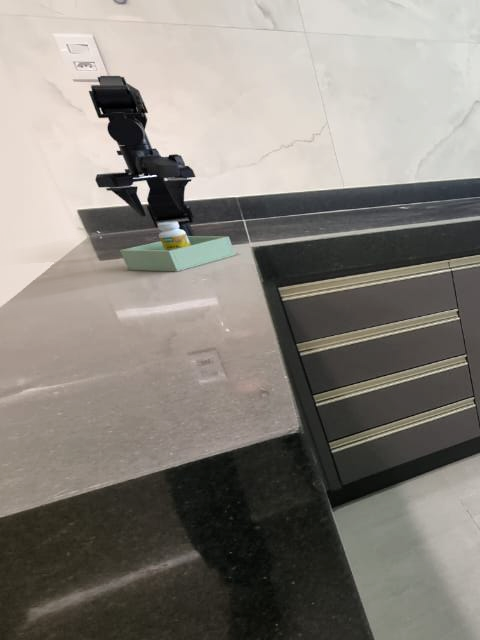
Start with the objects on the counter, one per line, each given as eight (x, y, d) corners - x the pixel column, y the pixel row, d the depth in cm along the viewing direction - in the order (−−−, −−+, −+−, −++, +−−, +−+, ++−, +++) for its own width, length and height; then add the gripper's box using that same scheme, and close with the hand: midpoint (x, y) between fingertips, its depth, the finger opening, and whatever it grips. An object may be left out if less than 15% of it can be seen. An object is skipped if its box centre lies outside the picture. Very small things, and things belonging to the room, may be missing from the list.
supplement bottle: (197, 256, 139) (182, 219, 135) (195, 260, 135) (179, 222, 131) (171, 260, 136) (155, 222, 132) (169, 264, 132) (152, 225, 128)
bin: (190, 253, 144) (182, 236, 142) (235, 254, 141) (228, 236, 139) (128, 269, 131) (119, 250, 129) (177, 271, 127) (168, 251, 125)
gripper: (116, 147, 114) (148, 220, 120) (199, 141, 130) (223, 206, 137) (78, 148, 116) (112, 220, 123) (165, 142, 132) (190, 206, 139)
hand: (163, 212), depth 130 cm, fingers open, 9 cm apart
